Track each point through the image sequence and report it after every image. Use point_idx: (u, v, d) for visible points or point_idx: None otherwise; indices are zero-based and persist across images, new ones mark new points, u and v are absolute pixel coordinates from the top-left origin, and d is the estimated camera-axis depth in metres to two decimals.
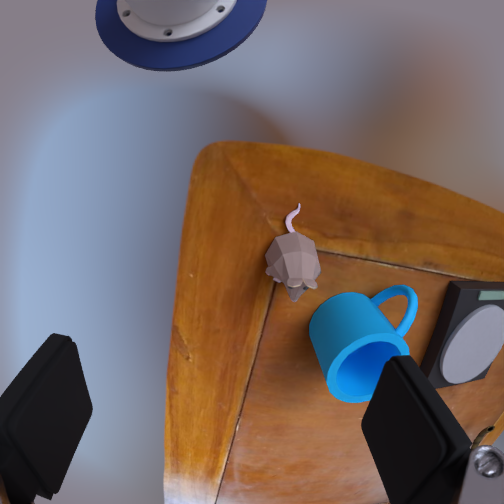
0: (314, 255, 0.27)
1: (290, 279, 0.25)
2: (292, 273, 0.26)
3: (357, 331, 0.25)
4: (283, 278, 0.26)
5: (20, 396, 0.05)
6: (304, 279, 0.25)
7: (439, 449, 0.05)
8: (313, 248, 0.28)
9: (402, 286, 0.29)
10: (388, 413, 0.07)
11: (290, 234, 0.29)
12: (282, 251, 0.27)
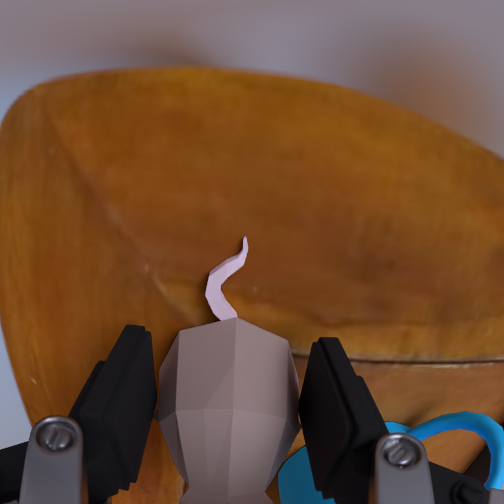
0: (279, 411, 0.08)
1: (190, 496, 0.06)
2: (199, 477, 0.06)
3: None
4: (180, 472, 0.07)
5: (114, 385, 0.06)
6: None
7: (344, 429, 0.06)
8: (281, 376, 0.09)
9: (482, 421, 0.10)
10: (313, 393, 0.08)
11: (218, 327, 0.10)
12: (179, 394, 0.08)
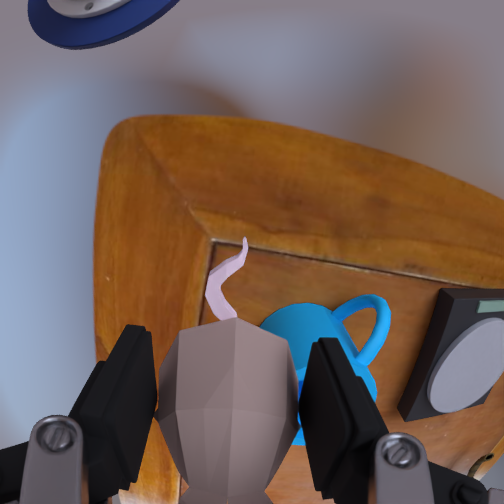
0: (278, 411, 0.08)
1: (190, 495, 0.06)
2: (198, 476, 0.07)
3: (299, 358, 0.19)
4: (179, 471, 0.07)
5: (114, 385, 0.06)
6: None
7: (343, 429, 0.06)
8: (281, 375, 0.09)
9: (371, 296, 0.22)
10: (313, 393, 0.08)
11: (218, 327, 0.10)
12: (179, 394, 0.08)
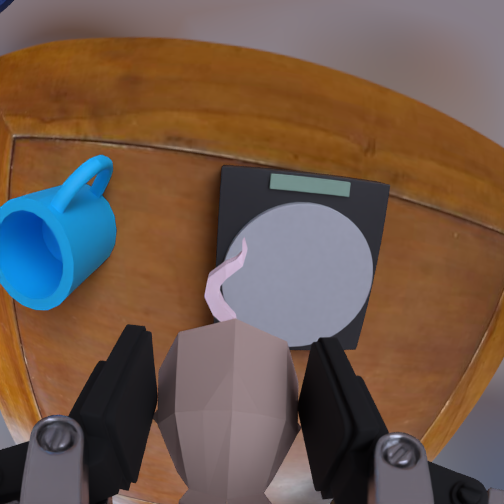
0: (278, 413, 0.08)
1: (189, 497, 0.06)
2: (198, 478, 0.06)
3: None
4: (179, 473, 0.07)
5: (114, 385, 0.06)
6: None
7: (343, 429, 0.06)
8: (280, 377, 0.09)
9: None
10: (312, 393, 0.08)
11: (218, 328, 0.10)
12: (179, 396, 0.08)
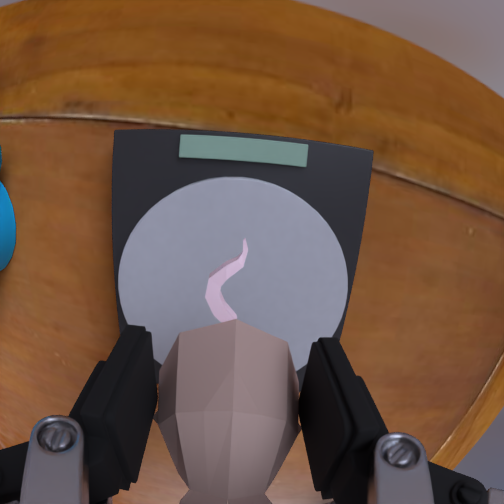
0: (279, 413, 0.08)
1: (190, 498, 0.06)
2: (199, 479, 0.06)
3: None
4: (180, 474, 0.07)
5: (114, 385, 0.06)
6: None
7: (343, 429, 0.06)
8: (281, 378, 0.09)
9: None
10: (312, 393, 0.08)
11: (218, 329, 0.10)
12: (179, 397, 0.08)
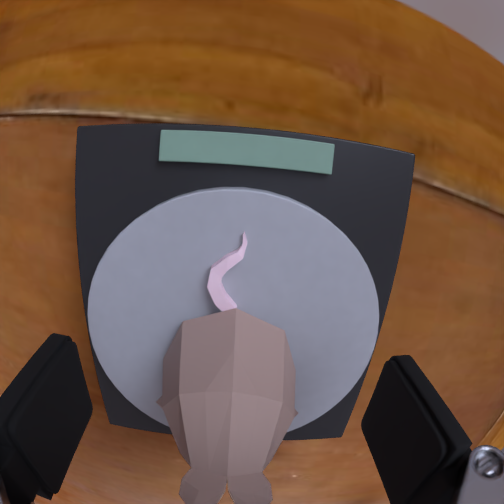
0: (275, 395, 0.09)
1: (192, 476, 0.07)
2: (200, 457, 0.07)
3: None
4: (182, 454, 0.08)
5: (20, 396, 0.05)
6: (231, 486, 0.06)
7: (439, 449, 0.05)
8: (278, 363, 0.10)
9: None
10: (388, 413, 0.07)
11: (219, 317, 0.11)
12: (182, 379, 0.09)
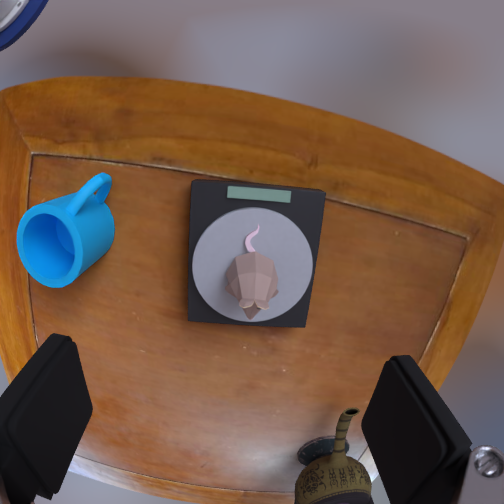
0: (269, 276, 0.28)
1: (243, 299, 0.26)
2: (245, 294, 0.27)
3: None
4: (238, 298, 0.27)
5: (20, 396, 0.05)
6: (256, 300, 0.26)
7: (439, 449, 0.05)
8: (270, 268, 0.29)
9: None
10: (388, 413, 0.07)
11: (249, 254, 0.30)
12: (238, 271, 0.28)
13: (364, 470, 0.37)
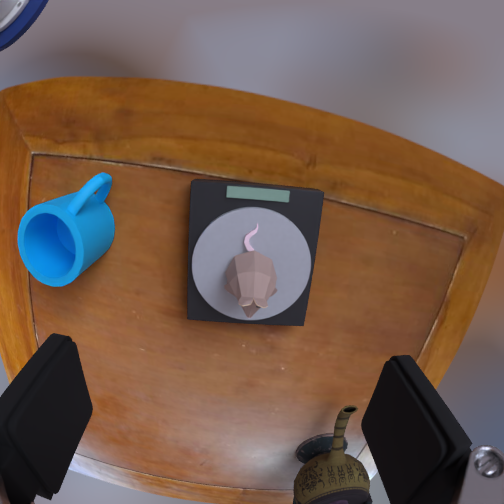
0: (268, 275, 0.28)
1: (242, 298, 0.27)
2: (244, 292, 0.27)
3: None
4: (237, 296, 0.28)
5: (20, 396, 0.05)
6: (255, 299, 0.26)
7: (439, 449, 0.05)
8: (269, 267, 0.30)
9: None
10: (388, 413, 0.07)
11: (248, 253, 0.31)
12: (237, 270, 0.29)
13: (362, 468, 0.37)
